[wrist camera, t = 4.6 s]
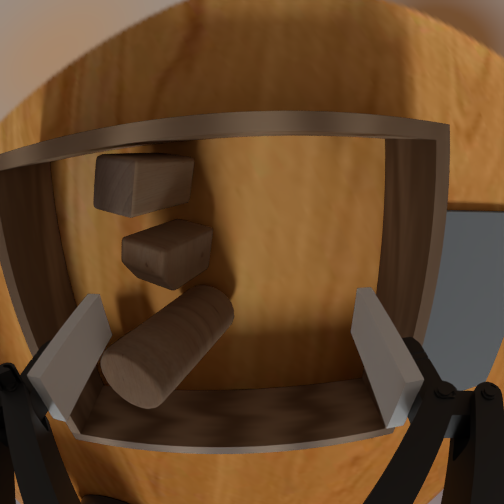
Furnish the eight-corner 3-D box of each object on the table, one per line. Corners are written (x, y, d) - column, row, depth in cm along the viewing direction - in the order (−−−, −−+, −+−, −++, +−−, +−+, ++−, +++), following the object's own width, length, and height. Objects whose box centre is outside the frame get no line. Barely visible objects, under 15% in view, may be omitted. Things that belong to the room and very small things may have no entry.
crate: (98, 391, 28) (75, 439, 22) (39, 151, 20) (-17, 159, 14) (369, 383, 29) (392, 433, 22) (396, 126, 21) (449, 124, 14)
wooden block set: (152, 150, 22) (41, 154, 13) (259, 166, 20) (171, 170, 11) (143, 347, 28) (70, 407, 19) (225, 382, 26) (164, 465, 17)
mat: (394, 405, 30) (396, 409, 30) (435, 210, 23) (438, 211, 22) (482, 380, 30) (484, 382, 30) (529, 212, 23) (532, 213, 23)
